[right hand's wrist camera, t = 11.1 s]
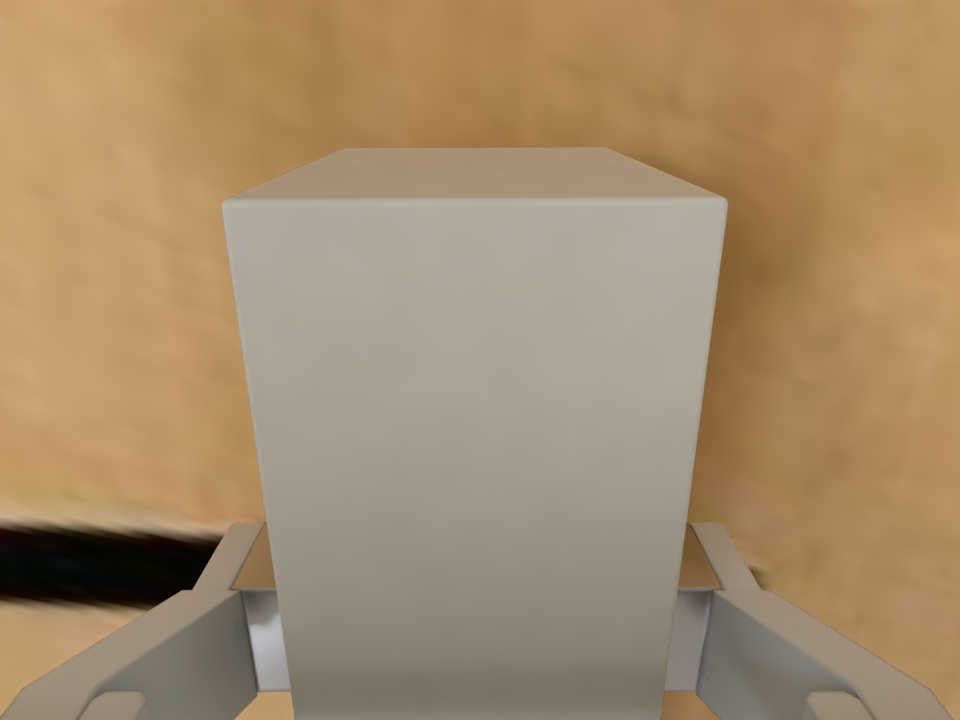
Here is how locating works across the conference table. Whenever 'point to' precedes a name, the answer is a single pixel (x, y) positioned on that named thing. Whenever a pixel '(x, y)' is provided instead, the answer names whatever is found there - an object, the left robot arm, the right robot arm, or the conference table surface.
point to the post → (476, 423)
